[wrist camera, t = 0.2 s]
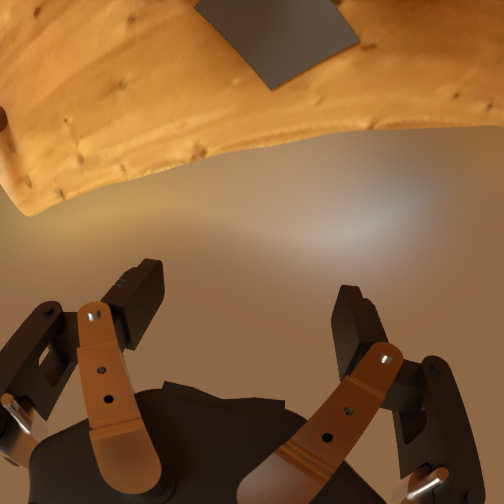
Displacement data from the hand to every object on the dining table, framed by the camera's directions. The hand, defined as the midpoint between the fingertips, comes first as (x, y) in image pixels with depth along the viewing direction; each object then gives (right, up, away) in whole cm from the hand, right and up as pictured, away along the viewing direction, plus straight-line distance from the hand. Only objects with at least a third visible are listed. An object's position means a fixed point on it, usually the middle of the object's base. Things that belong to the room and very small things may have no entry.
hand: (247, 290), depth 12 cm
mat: (+3, +30, +13) cm, 33 cm away
